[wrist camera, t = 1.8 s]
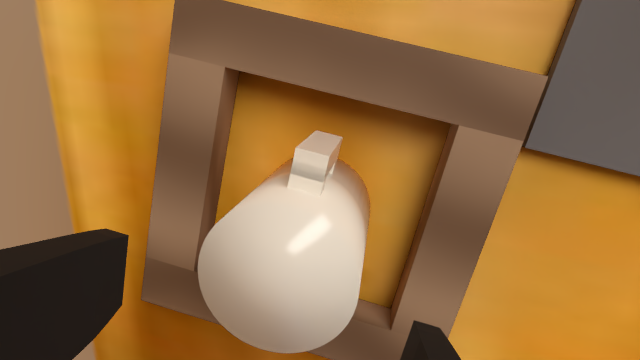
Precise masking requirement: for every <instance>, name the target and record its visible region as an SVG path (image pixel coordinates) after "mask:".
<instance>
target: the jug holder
mask: <svg viewBox="0 0 640 360" xmlns="http://www.w3.org/2000/svg"><path fill="white" fill-rule="evenodd" d="M239 71H243V72H247V73H251V74H255V75H259V76H263V77H267V78H271V79H275V80H279V81H283V82H287V83H291V84H295V85H299V86H303V87H307V88H311V89H315V90H319V91H323V92H327V93H331V94H335V95H339V96H343V97H347V98H351V99H355V100H359V101H363V102H367V103H371V104H375V105H379V106H383V107H387V108H391V109H395V110H399V111H403V112H407V113H412V114H416V115H420V116H424V117H428V118H432V119H436V120H440V121H444V122H448V123H451V126H450V129H449V132H448V135H447V138H446V141H445V144H444V147H443V151H442V154H441V157H440V160H439V163H438V166H437V169H436V172H435V175H434V178H433V181H432V184H431V187H430V190H429V193H428V197H427V200H426V203H425V206H424V209H423V212H422V215H421V218H420V221H419V224H418V227H417V230H416V233H415V236H414V239H413V242H412V246H411V249H410V252H409V255H408V258H407V261H406V264H405V267H404V270H403V273H402V276H401V279H400V282H399V285H398V288H397V292H396V295H395V298H394V301H393V304H392V307H391V308H387V307H384V306H380V305H377V304H374V303H370V302H367V301H364V300H360V299H358V302H357V306H356V309H355V311H354V314H353V316H352V318H351V320H350V321H349V323H348V324H347V326H346V327H345V328H344V330H343V331H342V332H341V333H340V334H339V335H338V336H336V337H335V338H334V339H332V340H331V341H330V342H328V343H326V344H324V345H322V346H321V347H318V348H315V349H313V350H309V351H306V352H309V353H313V354H316V355H319V356H322V357H325V358H329V359H332V360H400V358H401V355H402V353H403V350H404V347H405V344H406V341H407V338H408V335H409V333H410V330H411V327H412V324H413V321H414V320H415V321H419V322H422V323H426V324H429V325H432V326H436V327H439V328H441V330H442V331H443V333H444V334H445V336H446V337H447V339H448V337H449V334H450V331H451V329H452V326H453V324H454V321H455V318H456V316H457V313H458V311H459V308H460V305H461V303H462V300H463V298H464V295H465V292H466V290H467V287H468V285H469V282H470V279H471V277H472V274H473V272H474V269H475V266H476V264H477V261H478V259H479V256H480V253H481V251H482V248H483V246H484V243H485V240H486V238H487V235H488V233H489V230H490V227H491V225H492V222H493V220H494V217H495V214H496V212H497V209H498V207H499V204H500V201H501V199H502V196H503V194H504V191H505V188H506V186H507V183H508V181H509V178H510V175H511V173H512V170H513V168H514V165H515V162H516V160H517V157H518V155H519V152H520V149H521V147H522V144H523V142H524V139H525V136H526V134H527V131H528V129H529V126H530V123H531V121H532V118H533V116H534V113H535V110H536V108H537V105H538V103H539V100H540V97H541V95H542V92H543V90H544V87H545V84H546V82H547V79H548V77H549V76H545V75H540V74H536V73H532V72H528V71H523V70H519V69H515V68H510V67H506V66H502V65H498V64H493V63H489V62H485V61H480V60H476V59H472V58H468V57H463V56H459V55H455V54H450V53H446V52H442V51H437V50H433V49H429V48H425V47H420V46H416V45H412V44H407V43H403V42H399V41H395V40H390V39H386V38H382V37H377V36H373V35H369V34H365V33H360V32H356V31H352V30H347V29H343V28H339V27H335V26H330V25H326V24H322V23H317V22H313V21H309V20H304V19H300V18H296V17H292V16H287V15H283V14H279V13H274V12H270V11H266V10H262V9H257V8H253V7H249V6H244V5H240V4H236V3H232V2H227V1H223V0H175V4H174V12H173V21H172V30H171V39H170V48H169V57H168V66H167V74H166V83H165V92H164V101H163V110H162V119H161V128H160V136H159V145H158V154H157V163H156V172H155V181H154V190H153V199H152V207H151V216H150V225H149V234H148V243H147V252H146V261H145V269H144V278H143V287H142V296H141V300H143V301H146V302H149V303H152V304H156V305H159V306H162V307H165V308H169V309H172V310H175V311H178V312H181V313H185V314H188V315H191V316H194V317H197V318H201V319H204V320H207V321H210V322H213V323H217V324H220V323H219V322H218V320H217V319H216V318H215V317H214V315H213V314H212V312H211V311H210V309H209V308H208V306H207V304H206V302H205V300H204V298H203V295H202V292H201V289H200V285H199V279H198V259H199V254H200V250H201V247H202V245H203V242H204V240H205V238H206V237H207V235H208V233H209V232H210V230H211V229H212V228H213V227H214V223H215V217H216V211H217V205H218V199H219V193H220V187H221V181H222V175H223V169H224V162H225V156H226V150H227V144H228V138H229V132H230V126H231V120H232V114H233V108H234V102H235V95H236V89H237V83H238V77H239ZM220 325H221V324H220Z"/></svg>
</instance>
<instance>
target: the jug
mask: <svg viewBox="0 0 640 360" xmlns="http://www.w3.org/2000/svg"><path fill="white" fill-rule="evenodd" d="M342 138H343V137H341V136H337V135H333V134H329V133H325V132H321V131H317V130H316V131H315V132H314V133H312V134H311V135H310V136H309V137H308V138H306V139H305V140H304V141H303V142H302V143H301V144H299V145H298V146H297V147H296V149H295V154H294V158H292V159H290V160H288V161H287V162H285V163H284V164H282V165H281V166H280V167H279V168H278V169H277V170H276V171H274V172H273V173H272V174H271V175H270V176H269V177H268V178H267V179H265V180H264V181H263V182H262V183H261V184H260V185H259V186H258V187H257V188H255V189H254V190H253V191H252V192H251V193H250V194H249V195H248V196H246V197H245V198H244V199H243V200H242V201H241V202H240V203H239V204H238V205H236V206H235V207H234V208H233V209H232V210H231V211H230V212H229V213H227V214H226V215H225V216H224V217H223V218H222V219H221V220H220V221H219V222H218V223H216V224H215V225H214V227H213V228H212V229H211V230H210V232H209V233H208V235H207V237H206V238H205V240H204V242H203V245H202V247H201V250H200V254H199V259H198V279H199V285H200V289H201V292H202V295H203V298H204V300H205V302H206V304H207V306H208V308H209V309H210V311H211V312H212V314H213V315H214V317H215V318H216V319H217V320H218V322H219V323H220V324H221V325H222V326H223V327H224V328H225V329H226V330H228V331H229V332H230V333H231V334H233V335H234V336H235V337H237V338H238V339H240V340H242V341H243V342H245V343H247V344H249V345H251V346H254V347H257V348H259V349H262V350H266V351H270V352H277V353H300V352H305V351H309V350H313V349H315V348H318V347H321V346H322V345H324V344H326V343H328V342H330V341H331V340H332V339H334V338H335V337H336V336H338V335H339V334H340V333H341V332H342V331H343V330H344V328H345V327H346V326H347V324H348V323H349V321H350V320H351V318H352V316H353V314H354V311H355V309H356V306H357V302H358V297H359V290H360V283H361V276H362V269H363V261H364V254H365V247H366V240H367V232H368V225H369V218H370V199H369V194H368V191H367V188H366V186H365V184H364V182H363V180H362V179H361V178H360V176H359V175H358V174H357V173H356V171H355V170H354V169H352V168H351V167H350V166H349V165H348V164H346V163H345V162H343V161H341V160H339V159H337V158H338V154H339V150H340V146H341V142H342Z"/></svg>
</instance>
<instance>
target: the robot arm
mask: <svg viewBox="0 0 640 360" xmlns="http://www.w3.org/2000/svg"><path fill="white" fill-rule="evenodd" d="M128 236H129V235H126V234H122V233H119V232H116V231H112V230H109V229H100V230H92V231H87V232H81V233H76V234H71V235H67V236H62V237H57V238H53V239H48V240H43V241H39V242H35V243H30V244H25V245H20V246H16V247H11V248H6V249H1V250H0V360H72V359H73V358H74V357H76V355H78V354H79V353H80V352H81V351H82V350H83V349H84V348H85V347H86V346H87V345H88V344H89V343H90V342H91V341H92V340H93V339H94V338H95V337H96V336H97V335H98V334H99V332H100V331H101V330H102V329H103V328H104V327H105V325H106V324H107V323H108V322H109V321H110V319H111V318H112V317H113V316H114V314H115V313H116V312H117V311H118V309H119V308H120V307H121V306H122V299H123V289H124V278H125V268H126V257H127V247H128ZM400 360H461V359H460V357H459V356H458V354H457V352H456V351H455V349H454V348H453V346H452V345H451V343H450V342H449V340H448V339H447V337H446V336H445V334H444V333H443V331H442V330H441V328H439V327H436V326H432V325H429V324H426V323H422V322H419V321H415V320H414V321H413V324H412V327H411V330H410V333H409V335H408V338H407V341H406V344H405V347H404V350H403V353H402V355H401V358H400Z"/></svg>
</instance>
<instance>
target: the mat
mask: <svg viewBox="0 0 640 360" xmlns="http://www.w3.org/2000/svg"><path fill="white" fill-rule="evenodd" d="M548 76H549V77H548V79H547V82H546V84H545V87H544V90H543V92H542V95H541V97H540V100H539V103H538V105H537V108H536V110H535V113H534V116H533V118H532V121H531V123H530V126H529V129H528V131H527V134H526V136H525V139H524V142H523V144H522V146H523V147H525V148H529V149H533V150H537V151H541V152H545V153H549V154H553V155H557V156H561V157H565V158H569V159H573V160H577V161H581V162H585V163H589V164H593V165H597V166H601V167H605V168H609V169H613V170H617V171H621V172H625V173H629V174H633V175H637V176H640V0H576V3H575V5H574V8H573V11H572V13H571V16H570V18H569V21H568V24H567V26H566V29H565V31H564V34H563V37H562V39H561V42H560V44H559V47H558V50H557V52H556V55H555V57H554V60H553V63H552V65H551V68H550V70H549V73H548Z"/></svg>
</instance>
